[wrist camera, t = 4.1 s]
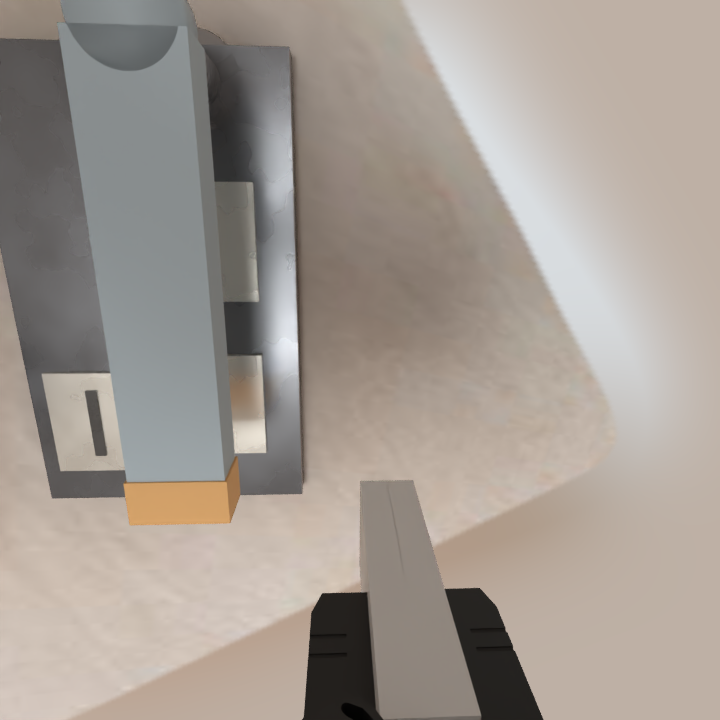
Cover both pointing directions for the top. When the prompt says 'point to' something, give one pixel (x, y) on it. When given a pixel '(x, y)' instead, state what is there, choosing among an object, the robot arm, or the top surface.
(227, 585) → the top surface
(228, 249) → the slotted grey board
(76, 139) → the grey long bar
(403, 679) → the robot arm
